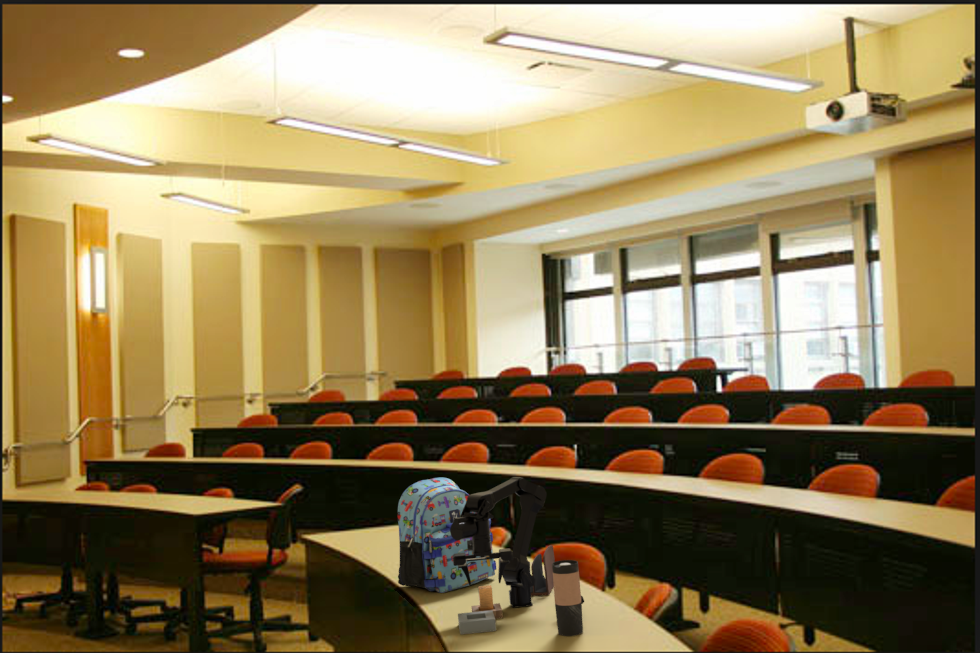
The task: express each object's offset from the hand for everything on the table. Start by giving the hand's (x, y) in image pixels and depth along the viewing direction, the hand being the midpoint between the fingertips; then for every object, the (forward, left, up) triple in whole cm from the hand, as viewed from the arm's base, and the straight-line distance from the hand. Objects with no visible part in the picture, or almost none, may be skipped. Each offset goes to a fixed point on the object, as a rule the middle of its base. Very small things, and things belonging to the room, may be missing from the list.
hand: (484, 584), depth 317 cm
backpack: (+10, -53, -10) cm, 55 cm away
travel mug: (-22, +28, -10) cm, 37 cm away
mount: (0, 0, -10) cm, 10 cm away
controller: (-25, +14, -10) cm, 30 cm away
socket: (+4, +13, -10) cm, 17 cm away
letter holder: (-20, -30, -10) cm, 37 cm away
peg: (0, 0, -10) cm, 10 cm away
